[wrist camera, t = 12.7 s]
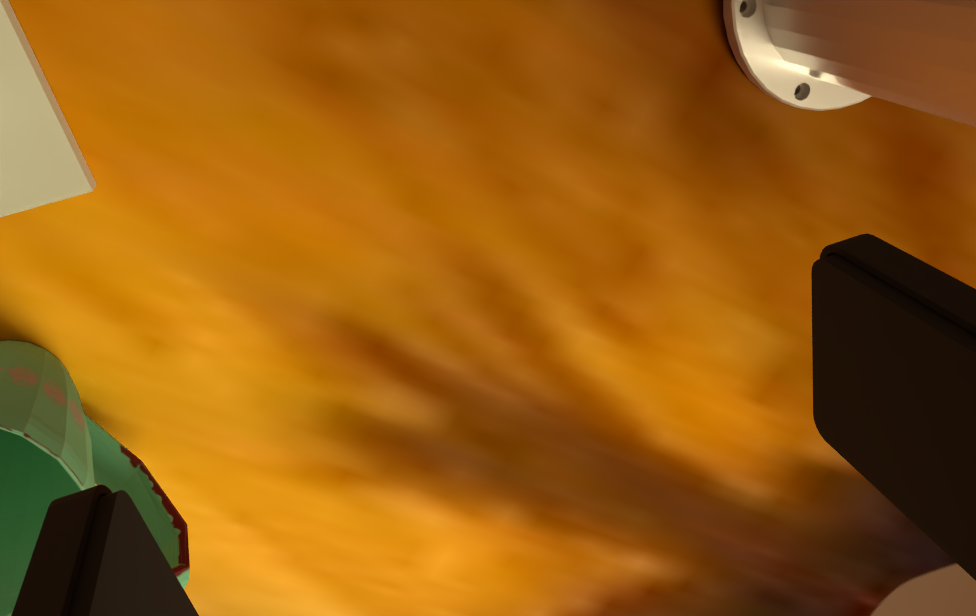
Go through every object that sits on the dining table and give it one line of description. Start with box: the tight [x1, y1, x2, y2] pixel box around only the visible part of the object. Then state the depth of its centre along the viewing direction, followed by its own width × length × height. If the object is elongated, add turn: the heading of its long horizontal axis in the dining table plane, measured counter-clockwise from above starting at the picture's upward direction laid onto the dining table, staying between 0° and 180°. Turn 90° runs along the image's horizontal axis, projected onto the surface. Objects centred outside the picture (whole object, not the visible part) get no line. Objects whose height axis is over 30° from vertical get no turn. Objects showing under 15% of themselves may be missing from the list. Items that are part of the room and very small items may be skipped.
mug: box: [0, 340, 190, 616], centre depth 34 cm, size 15×10×10 cm
